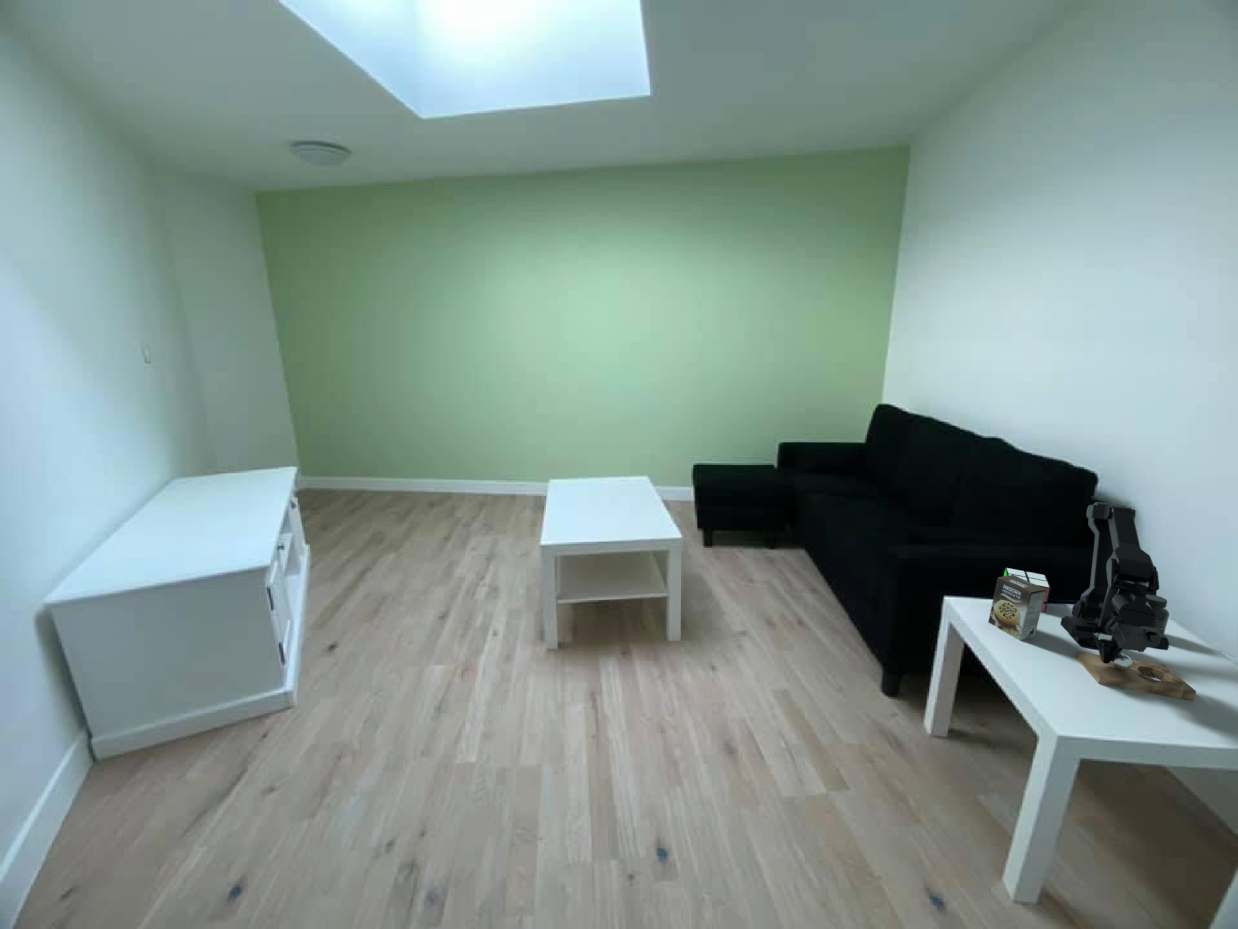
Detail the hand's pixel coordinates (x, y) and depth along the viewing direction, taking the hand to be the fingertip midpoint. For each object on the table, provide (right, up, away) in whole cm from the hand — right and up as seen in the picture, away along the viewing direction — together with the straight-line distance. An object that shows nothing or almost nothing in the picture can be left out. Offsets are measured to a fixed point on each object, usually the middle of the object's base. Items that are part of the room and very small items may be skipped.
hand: (1104, 662), depth 123 cm
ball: (+3, -1, -1) cm, 3 cm away
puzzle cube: (+6, +4, +33) cm, 33 cm away
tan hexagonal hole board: (+6, -4, -1) cm, 7 cm away
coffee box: (-9, +1, +18) cm, 20 cm away
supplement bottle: (+28, 0, +17) cm, 33 cm away
